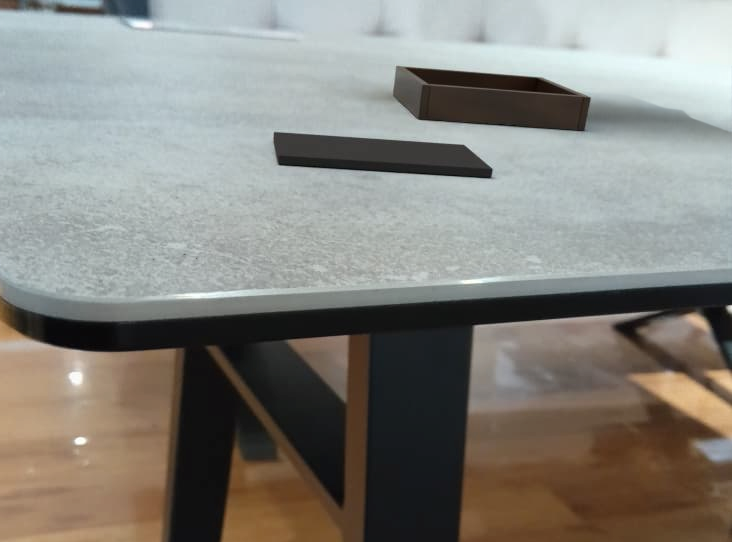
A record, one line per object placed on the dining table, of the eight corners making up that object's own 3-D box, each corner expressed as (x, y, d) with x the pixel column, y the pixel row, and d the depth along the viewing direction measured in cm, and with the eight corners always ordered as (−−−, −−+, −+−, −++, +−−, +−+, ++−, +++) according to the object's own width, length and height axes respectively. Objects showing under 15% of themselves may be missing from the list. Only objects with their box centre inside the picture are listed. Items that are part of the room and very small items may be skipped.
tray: (537, 106, 79) (542, 77, 78) (584, 130, 68) (591, 97, 67) (392, 95, 78) (396, 65, 77) (418, 119, 67) (422, 84, 66)
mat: (463, 152, 56) (464, 144, 56) (491, 177, 50) (493, 168, 49) (273, 140, 54) (273, 131, 54) (277, 164, 48) (278, 155, 48)
